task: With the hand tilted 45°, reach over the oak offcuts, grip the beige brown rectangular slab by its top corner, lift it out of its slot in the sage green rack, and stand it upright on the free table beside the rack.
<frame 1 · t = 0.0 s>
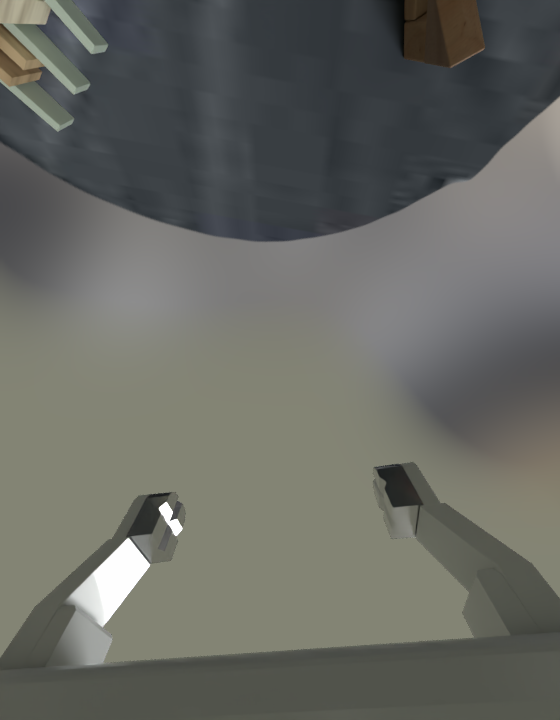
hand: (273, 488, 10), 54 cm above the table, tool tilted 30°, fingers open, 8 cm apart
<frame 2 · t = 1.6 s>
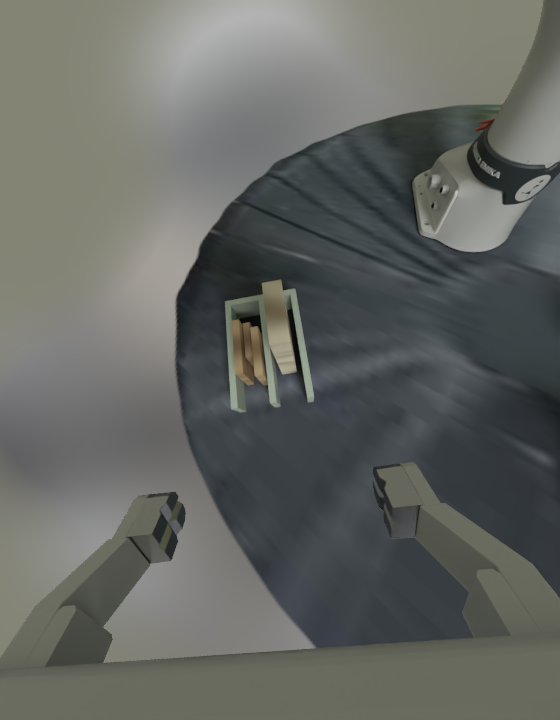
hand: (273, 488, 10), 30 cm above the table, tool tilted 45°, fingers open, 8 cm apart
beige brown rectangular slab: (286, 349, 43), resting in rack
rack: (270, 357, 43), on the table
offcut stack: (256, 359, 43), resting in rack
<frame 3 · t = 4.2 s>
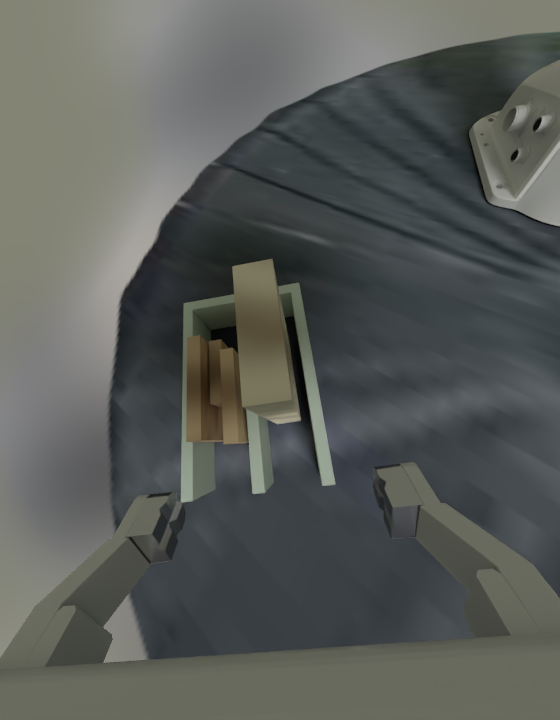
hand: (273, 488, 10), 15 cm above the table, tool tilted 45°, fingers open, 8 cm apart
beige brown rectangular slab: (283, 381, 27), resting in rack
rack: (258, 394, 27), on the table
offcut stack: (236, 397, 27), resting in rack
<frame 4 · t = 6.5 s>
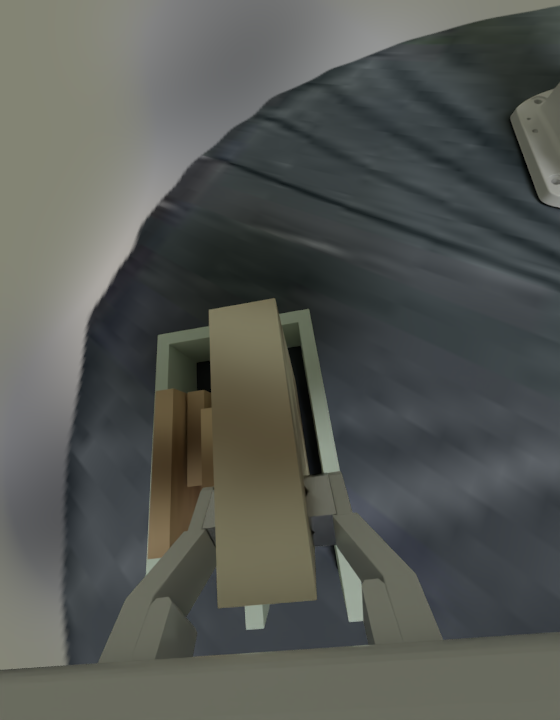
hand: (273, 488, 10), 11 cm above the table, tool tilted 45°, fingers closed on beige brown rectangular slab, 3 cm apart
beige brown rectangular slab: (288, 434, 21), resting in rack, touching gripper
rack: (256, 450, 21), on the table
offcut stack: (227, 454, 21), resting in rack
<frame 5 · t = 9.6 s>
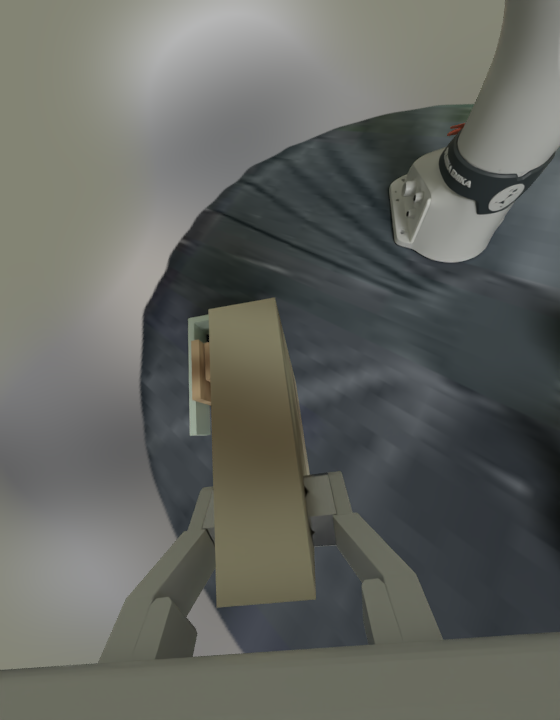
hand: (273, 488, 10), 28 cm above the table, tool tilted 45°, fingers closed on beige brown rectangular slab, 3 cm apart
beige brown rectangular slab: (288, 434, 21), point 17 cm above the table, touching gripper
rack: (237, 376, 41), on the table
offcut stack: (223, 378, 41), resting in rack
when the fingers open (12 cm above the table, at t = 12.6 s): beige brown rectangular slab stays where it is, on the table.
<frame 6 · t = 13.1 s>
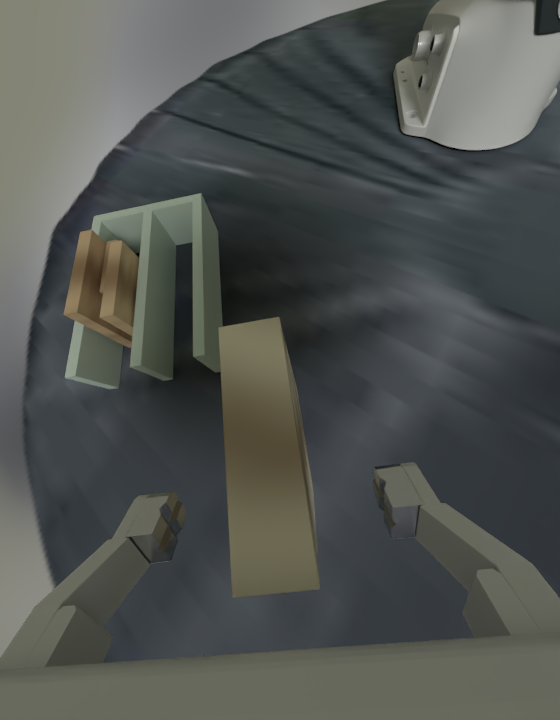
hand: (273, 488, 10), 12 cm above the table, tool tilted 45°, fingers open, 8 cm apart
beige brown rectangular slab: (290, 437, 22), on the table
rack: (169, 306, 28), on the table
offcut stack: (148, 310, 28), resting in rack
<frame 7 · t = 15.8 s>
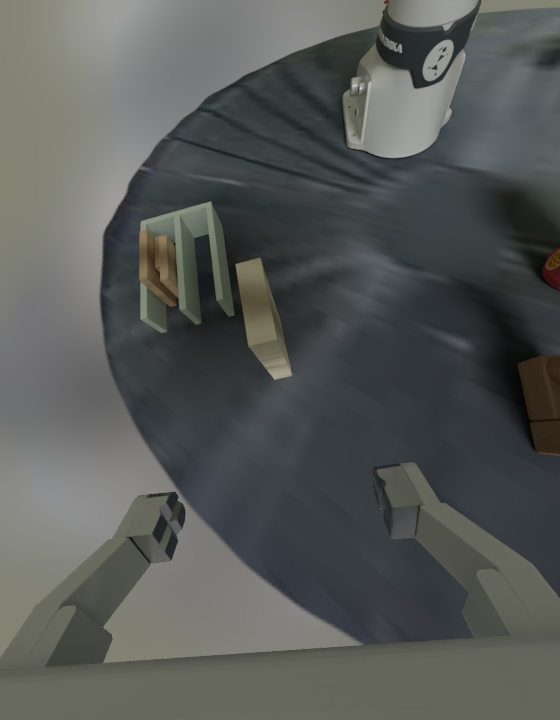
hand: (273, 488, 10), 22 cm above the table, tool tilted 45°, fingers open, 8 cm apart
beige brown rectangular slab: (277, 348, 36), on the table
rack: (193, 278, 42), on the table
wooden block: (540, 407, 29), on the table
offcut stack: (180, 282, 42), resting in rack
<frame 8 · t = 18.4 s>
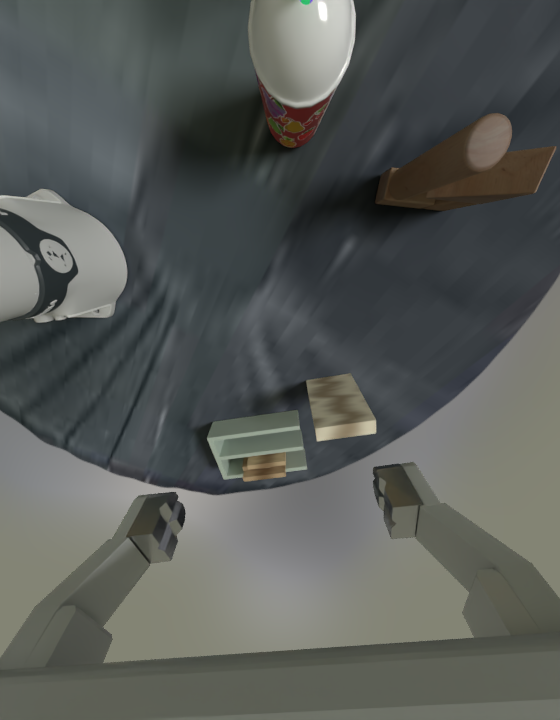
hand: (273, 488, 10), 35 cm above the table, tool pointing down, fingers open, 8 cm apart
beige brown rectangular slab: (328, 382, 49), on the table
smoothie: (292, 118, 31), on the table
rack: (262, 436, 55), on the table
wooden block: (412, 193, 35), on the table
offcut stack: (264, 445, 56), resting in rack
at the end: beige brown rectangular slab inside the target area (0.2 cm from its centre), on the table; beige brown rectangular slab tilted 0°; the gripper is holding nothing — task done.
